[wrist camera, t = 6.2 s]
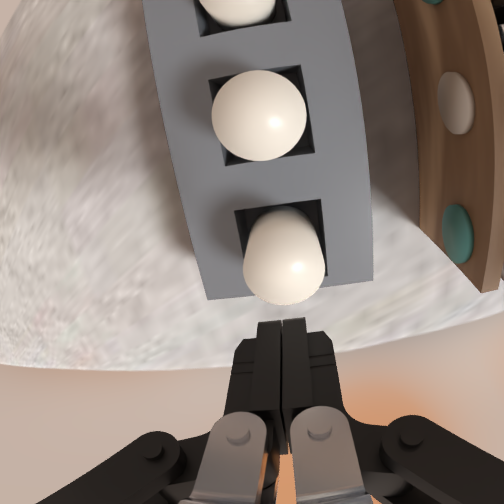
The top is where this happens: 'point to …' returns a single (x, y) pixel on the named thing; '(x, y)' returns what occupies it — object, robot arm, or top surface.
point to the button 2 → (259, 115)
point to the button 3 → (283, 257)
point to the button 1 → (240, 12)
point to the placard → (459, 129)
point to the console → (275, 170)
